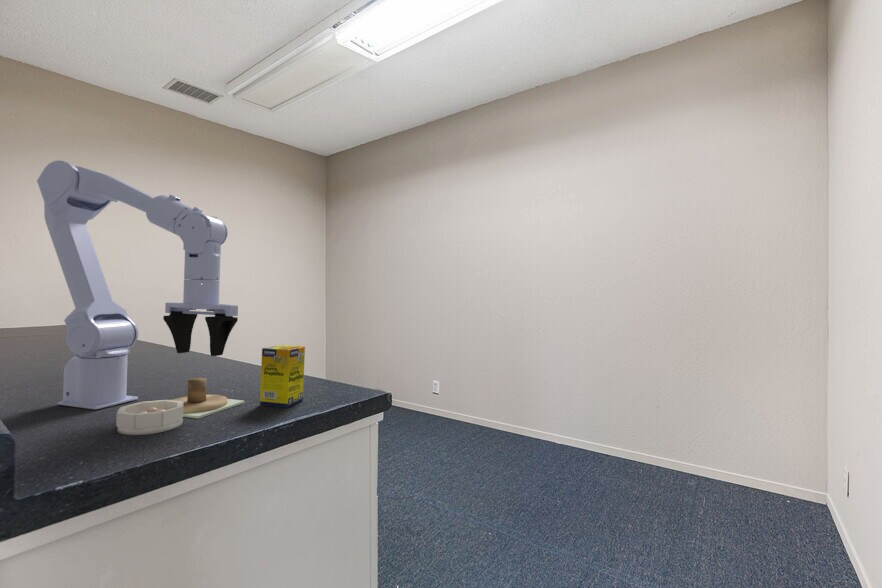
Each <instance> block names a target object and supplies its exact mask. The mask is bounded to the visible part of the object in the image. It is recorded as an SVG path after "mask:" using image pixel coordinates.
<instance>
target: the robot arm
mask: <svg viewBox="0 0 882 588" xmlns="http://www.w3.org/2000/svg"><path fill="white" fill-rule="evenodd" d="M36 182H37V184H38V188H39V191H40V193H41V197H42V199H43V202H44V205H43V208H44V209H43V210H44V212H43V213H44V221H45V224H46V227H47V230H48V233H49V236H50V239H51V241H52V245H53V247H54V249H55V252H56V253H55V254H56V256H57V259H58V262H59V265H60V268H61V270H62V273H63V275H64V279H65V281H66V285H67V287H68V290H69V293H70V297H71V299H72V303H73V306H74V307H75V308H74V309H73V310H72V312H70V314H69V315H67V316H66V317H65V319H64V324H65V327H66V334H65V341H66V342H65V343H66V345H67V348H68V349H69V350H70V351H71V352H72V354H73V355H74V356H73V357H71V358H70V359H69V360H68V361H67V363H65V366H64V367H63V368H64V369H63V387H62V388H63V389H62V390H63V391H62V400H60V401H58V402H57V403H56V404H57V405H59V406H65V407H75V408H81V409H88V410H99V409H103V408H108V407H113V406H116V405H120V404H124V403H128V402H129V403H130V402H132V401H137V400H138V399H139V397H138V396H136V395H135V396H134V395H127V388H128V387H127V385H128V378H127V377H128V357H129V356H128V354H130V353H131V348H132V347H133V346H134V345H135V344H136V343H137V341H138V338H139V329H138V327H137V325H136V323H135V322H134V321H133V320H132V319H131V317H129V315H128V312H127V309H125V308H124V307H122V306H121V305H119V304H117V302H115V301H114V300H113V298H112V295H111V292H110V289H109V286H108V283H107V280H106V278H105V275H104V272H103V269H102V267H101V264H100V260H99V259H98V255H97V252H96V249H95V247H94V244H93V241H92V238H91V235H90V232H89V229H88V226H87V223H89V221H90V220H93V219H95V218H96V217H97V216H98V215H99V214H100V213H101V212H102V211H103V210H105V208H107V207H108V206H109V205H110V204H111V203H112V202H114V203H118V202H121V203H123V204H126V205H128V206H131V207H133V208H135V209H136V210H139V211H141V212H144V213H145V215H146V219H147V220H148V222H149V223H151V224H154V225H155V226H158V227H159V228H161V229H164V230H165V231H168V232H170V233H172V234H174V235H176V236H178V237H179V238H180V239H181V241H182V244H183V246H182V249H183V250H184V266H183V267H184V272H183V274H184V275H183V294H182V296H183V297H182V298H183V300H182V301H183V302H165V303H164V304H165V306H164V307H165V309H164V310H165V311H164V313H165V314H168V315H163V318H162V319H163V321H164V323H165V324H166V326H167V327H168V329H169V331H170V333H171V335H172V340H173V342H174V347H175V351H176V353H177V354H185V353H190V350H191V345H192V335H193V334H192V333H193V329H194V325H195V322H196V320H197V317H198V315H206V316H205V317H204V319H205V322H206V326H207V329H208V333H209V334H208V335H209V352H210V353H209V354H210V356H211V357H217V356H223V354H224V351H225V348H226V344H227V341H228V339H229V336H230V334H231V332H232V330H233V328H234V327H235V325H236V324H237V322H238V315H239V304H238V305H236V304H222V303H220V284H221V283H220V280H221V278H220V277H221V255H222V254H221V253H222V251H221V249H222V245H223V244H224V243H225V242H226V240H227V239H228V234H229V233H228V228H227V225H226V224H225V223H224V222H223V221H222V220H220V218H218V217H216V216H213V215H212V216H211V215H207V214H204V213H203V209H202V208H199V207H197V206H194V207H191V206H189V205H187V204H185V203H183V202H181V200H182V199H181V198H180V197H179V196H175V195H172V194H169V196H168V195H166V194H161V195H157V196H152V195H151V194H148V193H147V192H145V191H143V190H141V189H139V188H138V187H135V186H133V185H132V184H130V183H127V182H126V181H124V180H122V179H120V178H116V177H114V176H110V175H109V174H105V173H102V172H99V171H96V170H91V169H88V168H85V167H82V166H78V165H73V164H71V163H70V162H67V161H64V160H53V161H51V162H50V163H48V164H47V165H46V166H45V167H44V168H43V171H41V173H40V175H39V177H38V178H37V179H36ZM197 310H198V311H197ZM199 310H206V311H199Z"/></svg>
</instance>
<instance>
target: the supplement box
mask: <svg viewBox="0 0 882 588" xmlns="http://www.w3.org/2000/svg"><path fill="white" fill-rule="evenodd" d="M305 351H306V346H301V345H284V344H278V345H275V346H270V347H269V346H268V347H262V348H261V363H260V364H261V366H260V368H261V369H260V392H259V393H260V397H259V405H260V406H264V407H265V406H266V407H273V408H274V407H276V408H285V409H287V408H289V407H290V406H294V405H295V404H298V403H300V401H301V402H303V401H304V387H305V386H304V383H305V381H304V380H305V353H306V352H305ZM302 400H303V401H302Z"/></svg>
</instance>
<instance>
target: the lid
mask: <svg viewBox="0 0 882 588" xmlns="http://www.w3.org/2000/svg"><path fill="white" fill-rule="evenodd" d="M207 381H208V378H206V377H193V378H188V379H187V393H186V395H187V396H180V397H177V398H176V397H175V398H173V399H171V400H174V401H182V402H184V403H183V413H198V412H205V411H211V410H215V409H218V408H221V407H224V406H225V405H227V399H228V397H227V396H225V395H222V394H221V395H220V394H207V389H208V387H207V386H208V385H207V383H208V382H207Z"/></svg>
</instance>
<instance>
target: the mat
mask: <svg viewBox="0 0 882 588" xmlns="http://www.w3.org/2000/svg"><path fill="white" fill-rule="evenodd" d="M242 404H246V401H245V400H241V399H234V398H233V399H232V398H227V405H225V406H224V407H221V408H218V409H215V410H211V411H205V412H198V413H183V418H190V419H197V420H198V419H201V418H204V417H208V416H210V415H214V414H216V413H219V412H222V411H225V410H228V409H231V408H234V407H236V406H239V405H242Z"/></svg>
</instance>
